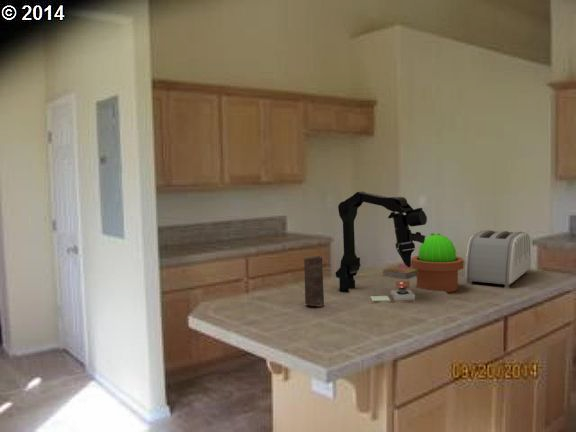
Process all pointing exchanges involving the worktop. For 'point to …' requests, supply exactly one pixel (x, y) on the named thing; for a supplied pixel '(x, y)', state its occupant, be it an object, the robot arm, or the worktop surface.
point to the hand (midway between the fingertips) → (408, 266)
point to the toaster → (497, 257)
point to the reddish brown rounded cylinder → (402, 286)
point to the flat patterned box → (396, 272)
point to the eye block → (402, 296)
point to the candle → (314, 281)
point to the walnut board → (389, 301)
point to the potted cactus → (437, 264)
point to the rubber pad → (379, 298)
